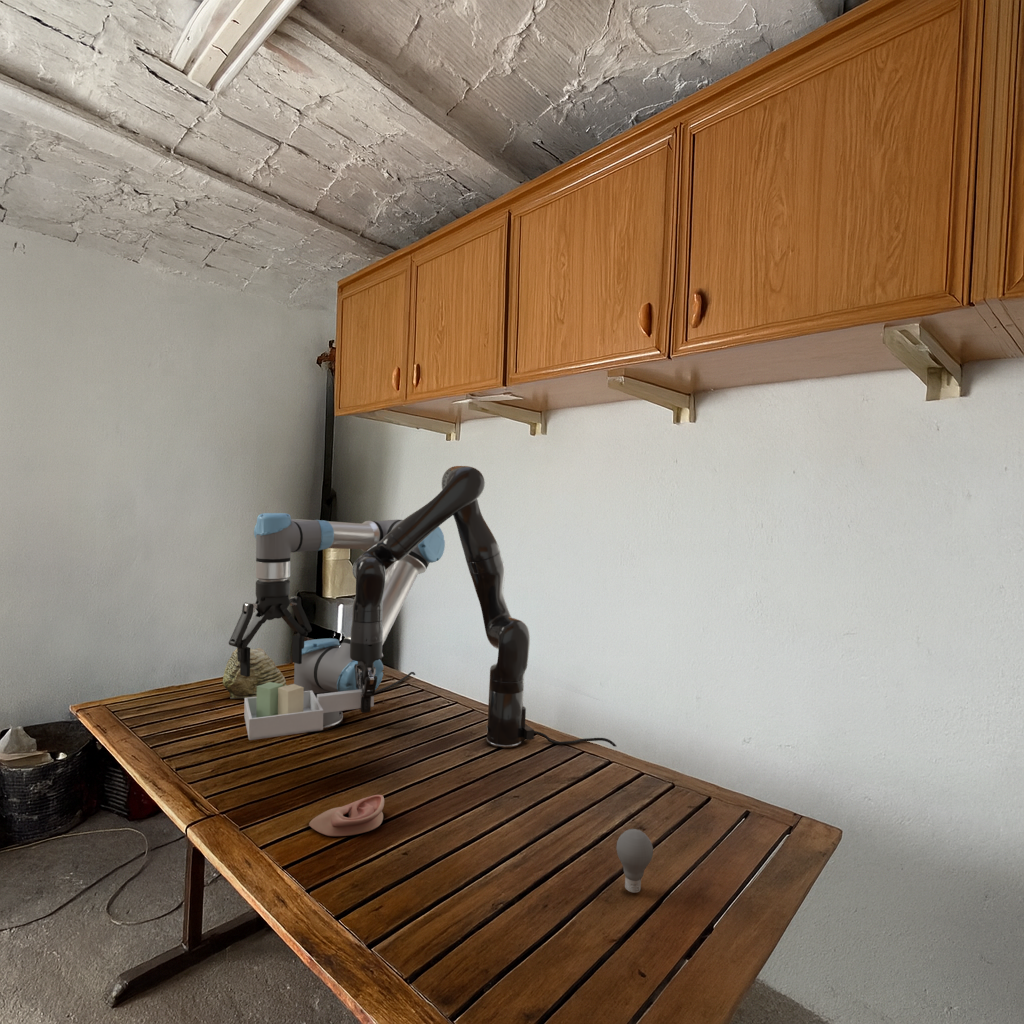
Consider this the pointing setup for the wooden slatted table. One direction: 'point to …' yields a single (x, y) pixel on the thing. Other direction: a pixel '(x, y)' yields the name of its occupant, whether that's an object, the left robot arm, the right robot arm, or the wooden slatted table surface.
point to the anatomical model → (351, 817)
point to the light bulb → (634, 857)
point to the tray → (299, 714)
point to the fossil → (251, 674)
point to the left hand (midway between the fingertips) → (271, 669)
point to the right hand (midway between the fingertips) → (364, 710)
